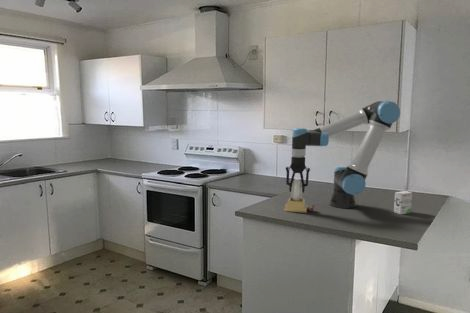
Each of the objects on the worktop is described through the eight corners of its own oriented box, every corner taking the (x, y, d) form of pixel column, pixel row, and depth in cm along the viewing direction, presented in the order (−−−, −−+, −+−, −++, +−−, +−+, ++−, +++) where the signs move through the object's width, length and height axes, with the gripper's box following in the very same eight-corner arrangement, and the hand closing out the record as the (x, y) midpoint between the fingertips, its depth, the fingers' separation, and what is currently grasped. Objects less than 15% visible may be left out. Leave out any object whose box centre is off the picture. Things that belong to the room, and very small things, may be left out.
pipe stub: (300, 203, 210) (301, 179, 208) (299, 205, 206) (301, 180, 204) (292, 203, 211) (293, 178, 209) (291, 205, 207) (293, 180, 205)
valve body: (313, 209, 211) (314, 199, 210) (313, 213, 202) (313, 203, 201) (286, 207, 214) (286, 197, 214) (284, 211, 206) (284, 200, 205)
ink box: (403, 210, 213) (405, 190, 211) (411, 213, 209) (412, 192, 207) (393, 212, 209) (394, 191, 208) (400, 214, 205) (402, 193, 203)
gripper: (314, 156, 206) (312, 197, 209) (283, 154, 210) (281, 195, 213) (314, 158, 199) (312, 200, 202) (281, 156, 203) (280, 198, 206)
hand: (296, 197), depth 208 cm, fingers closed on pipe stub, 4 cm apart
